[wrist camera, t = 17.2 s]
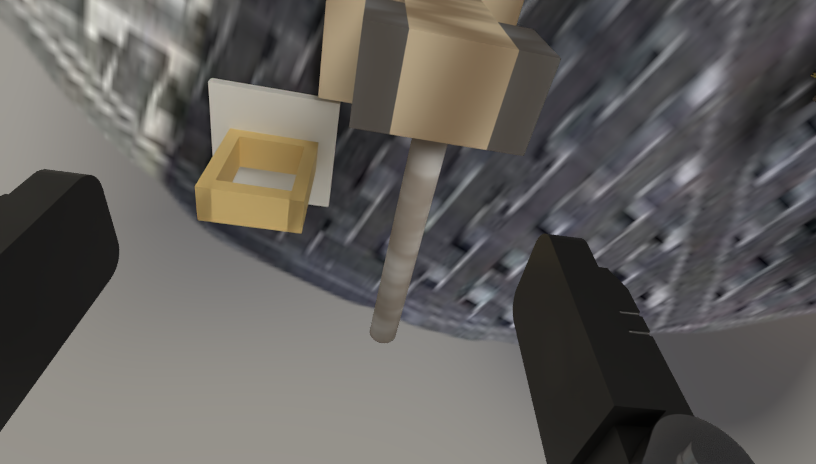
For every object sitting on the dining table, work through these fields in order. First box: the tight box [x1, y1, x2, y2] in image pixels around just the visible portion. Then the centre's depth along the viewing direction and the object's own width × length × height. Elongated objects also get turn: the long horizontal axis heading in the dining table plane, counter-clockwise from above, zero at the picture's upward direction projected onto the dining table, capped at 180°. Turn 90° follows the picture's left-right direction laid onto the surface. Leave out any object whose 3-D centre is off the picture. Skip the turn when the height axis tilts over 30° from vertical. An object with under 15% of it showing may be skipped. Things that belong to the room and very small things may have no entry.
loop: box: [195, 128, 318, 233], centre depth 32 cm, size 6×2×8 cm, turn 79°
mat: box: [208, 78, 341, 207], centre depth 36 cm, size 9×9×1 cm
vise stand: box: [318, 0, 561, 343], centre depth 28 cm, size 12×18×16 cm, turn 169°
